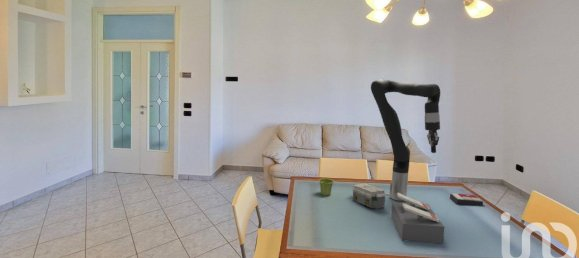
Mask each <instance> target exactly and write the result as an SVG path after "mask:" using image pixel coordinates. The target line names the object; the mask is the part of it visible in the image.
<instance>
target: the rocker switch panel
mask: <svg viewBox="0 0 579 258" xmlns="http://www.w3.org/2000/svg"><path fill="white" fill-rule="evenodd" d="M391 203H392V204H391V213H390V214H391V215H390V216H391V219H392V222H393V223H394V225H395V228H396V231H397V232H398V236H399V237H401V238H400V239H402V240H401V241H404V240H409V241H408V242H417V241H419V243H432V244H444V237H445V227H446V226H445V225H444V223H443V222H442V221H441V220H440V221H439V222H436V221H434V220H431V219H428V218H426V217H423V216H420V215H418V214H415V213H412V212H410V211H407V210H405V209H404V207H403V203H404V204H407V205H409V206H412V207H415V208H417V209H420V210H423V211H425V212H428V213H431V214H433V215H436V213H435V212H434V211H433V209H432V208H431V207H430V205H429V204H428V203H426V205H427V206H428V207H429V208H430V210H429V211H428V210H426V209H424V208H421V207H419V206H417V205H414V204H412V203H410V202H396V201H392V202H391ZM436 217H437V218H438V219H439V217H438V216H437V215H436Z"/></svg>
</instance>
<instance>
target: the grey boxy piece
mask: <svg viewBox="0 0 579 258" xmlns="http://www.w3.org/2000/svg"><path fill="white" fill-rule="evenodd" d="M349 187H350V188H353V189H352V200H353V201H355V202H357V203H359V204H361V205H362V206H363V205H364V206H367V207H369V208H371V209H382V208H383V206H385V204H386V197H389V196H390V193H389V194H388V193H386V192H385V189H383V188H380V187H377V186H373V185H370V184H368V183H359V184H358V183H357V184H354V185H351V184H350V185H349Z"/></svg>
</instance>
